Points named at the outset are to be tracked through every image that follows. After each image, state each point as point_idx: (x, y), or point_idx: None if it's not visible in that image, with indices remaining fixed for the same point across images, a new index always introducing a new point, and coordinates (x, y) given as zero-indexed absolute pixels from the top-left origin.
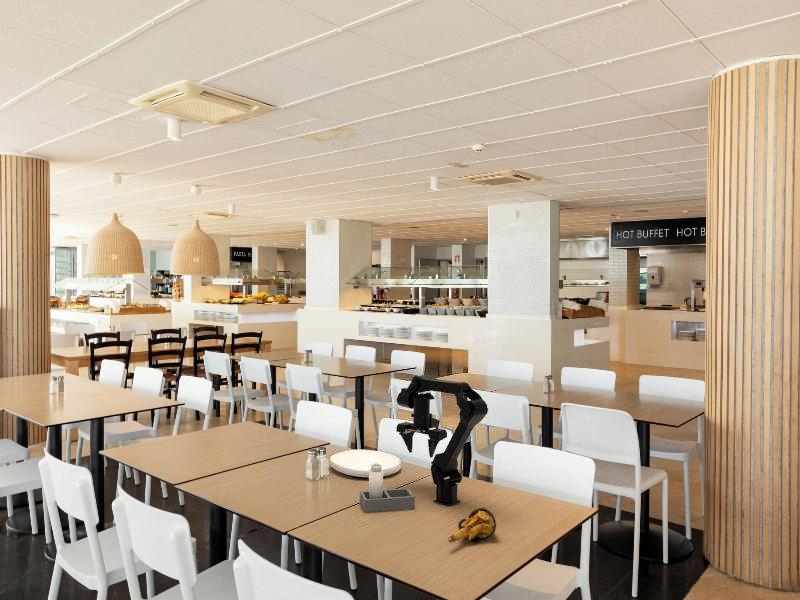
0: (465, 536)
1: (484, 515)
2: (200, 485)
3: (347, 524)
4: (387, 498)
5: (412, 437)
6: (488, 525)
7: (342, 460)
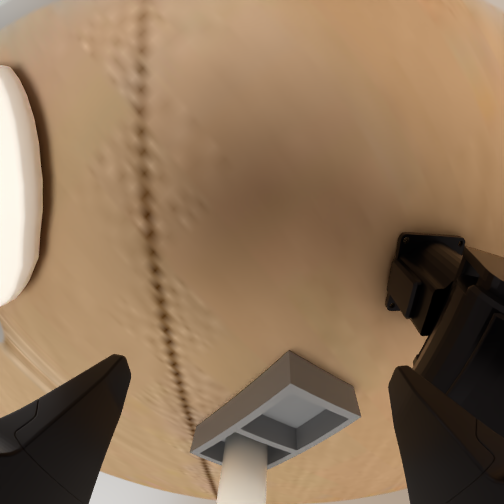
0: None
1: None
2: None
3: (271, 479)
4: (293, 456)
5: (21, 453)
6: None
7: None
